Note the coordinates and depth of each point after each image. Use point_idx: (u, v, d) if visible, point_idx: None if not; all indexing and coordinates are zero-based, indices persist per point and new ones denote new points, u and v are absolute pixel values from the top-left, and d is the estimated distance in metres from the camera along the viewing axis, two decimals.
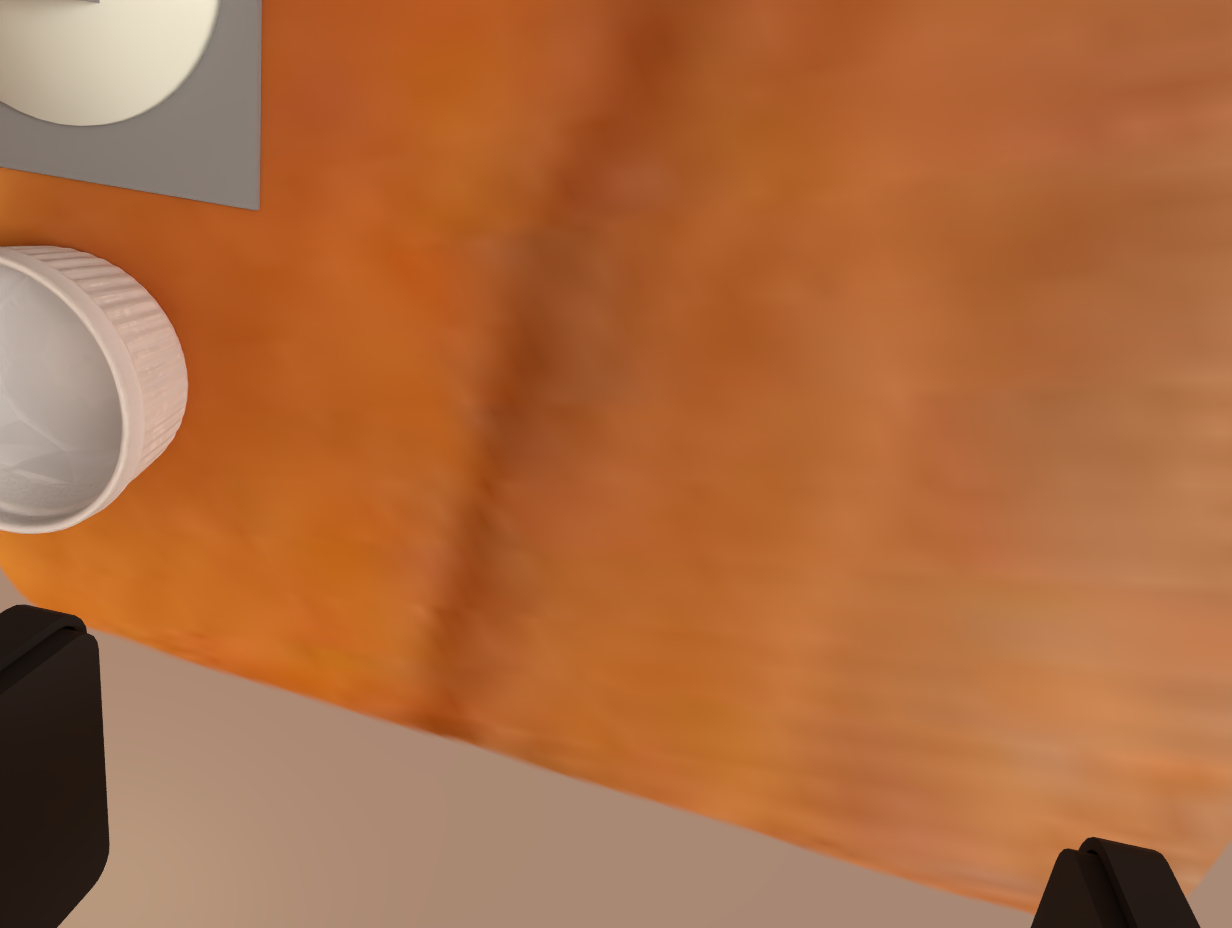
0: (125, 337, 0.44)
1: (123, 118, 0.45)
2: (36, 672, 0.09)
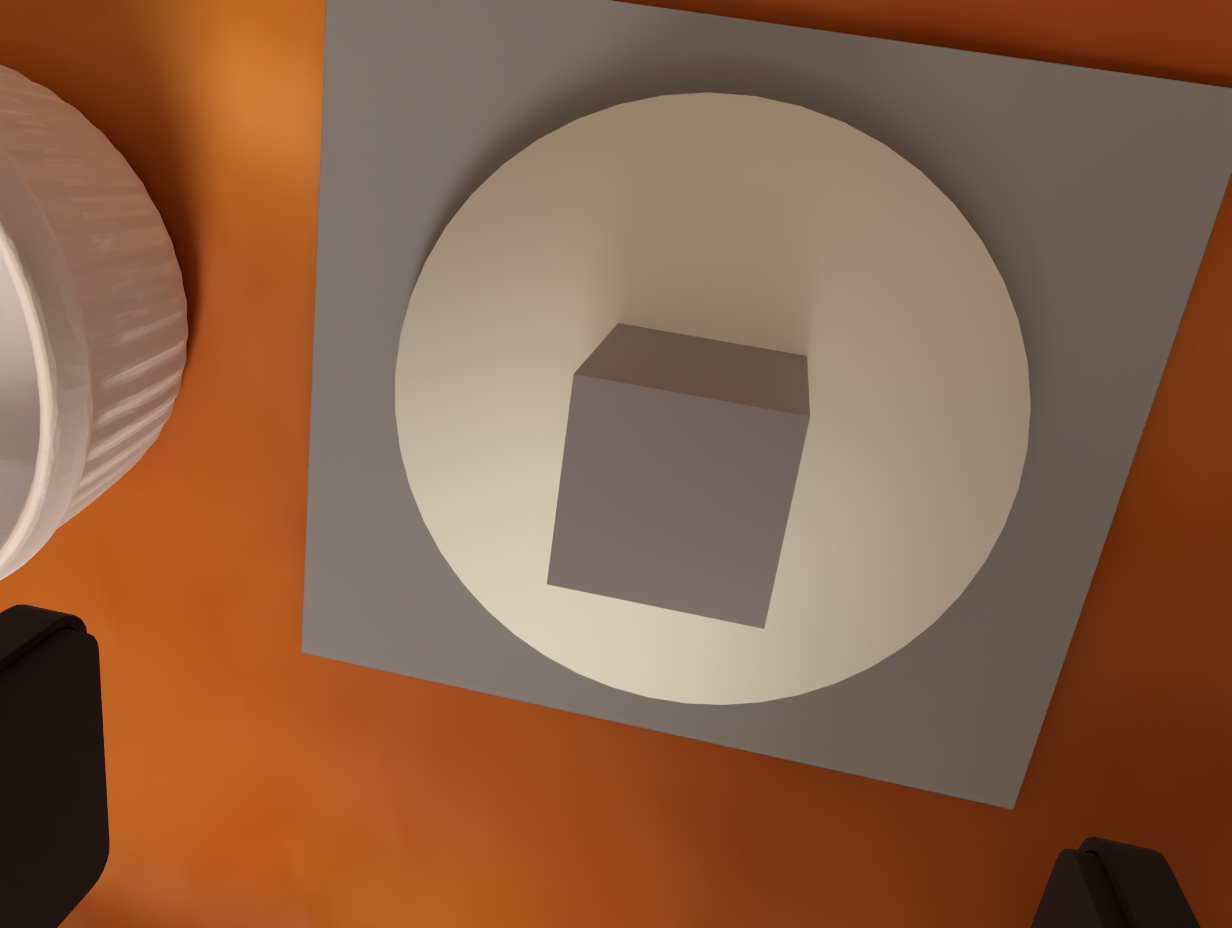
0: None
1: (414, 492, 0.26)
2: (36, 672, 0.09)
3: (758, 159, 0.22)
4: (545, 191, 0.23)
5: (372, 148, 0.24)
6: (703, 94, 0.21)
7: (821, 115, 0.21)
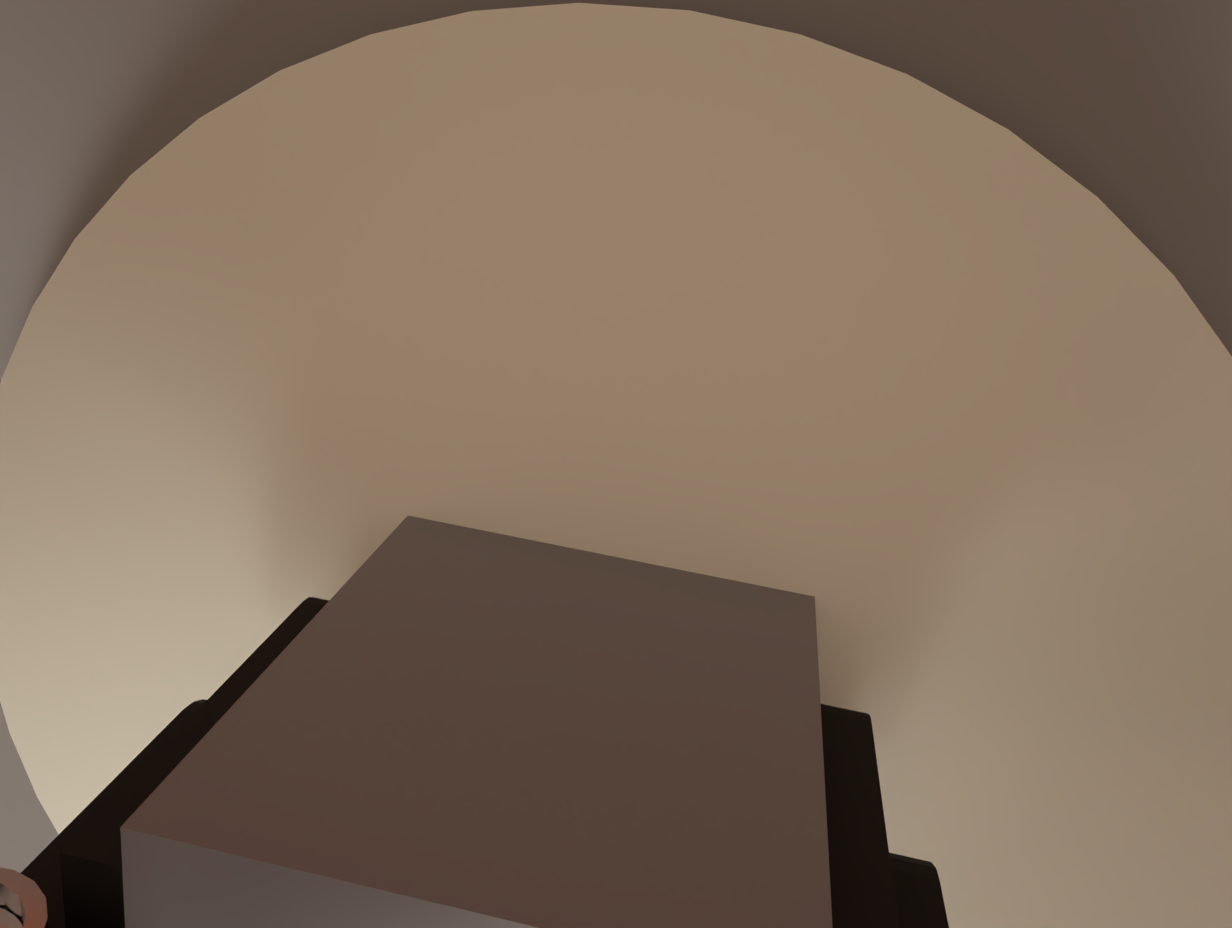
0: None
1: (49, 807, 0.13)
2: None
3: (702, 165, 0.09)
4: (229, 236, 0.10)
5: None
6: (567, 7, 0.09)
7: (853, 58, 0.09)
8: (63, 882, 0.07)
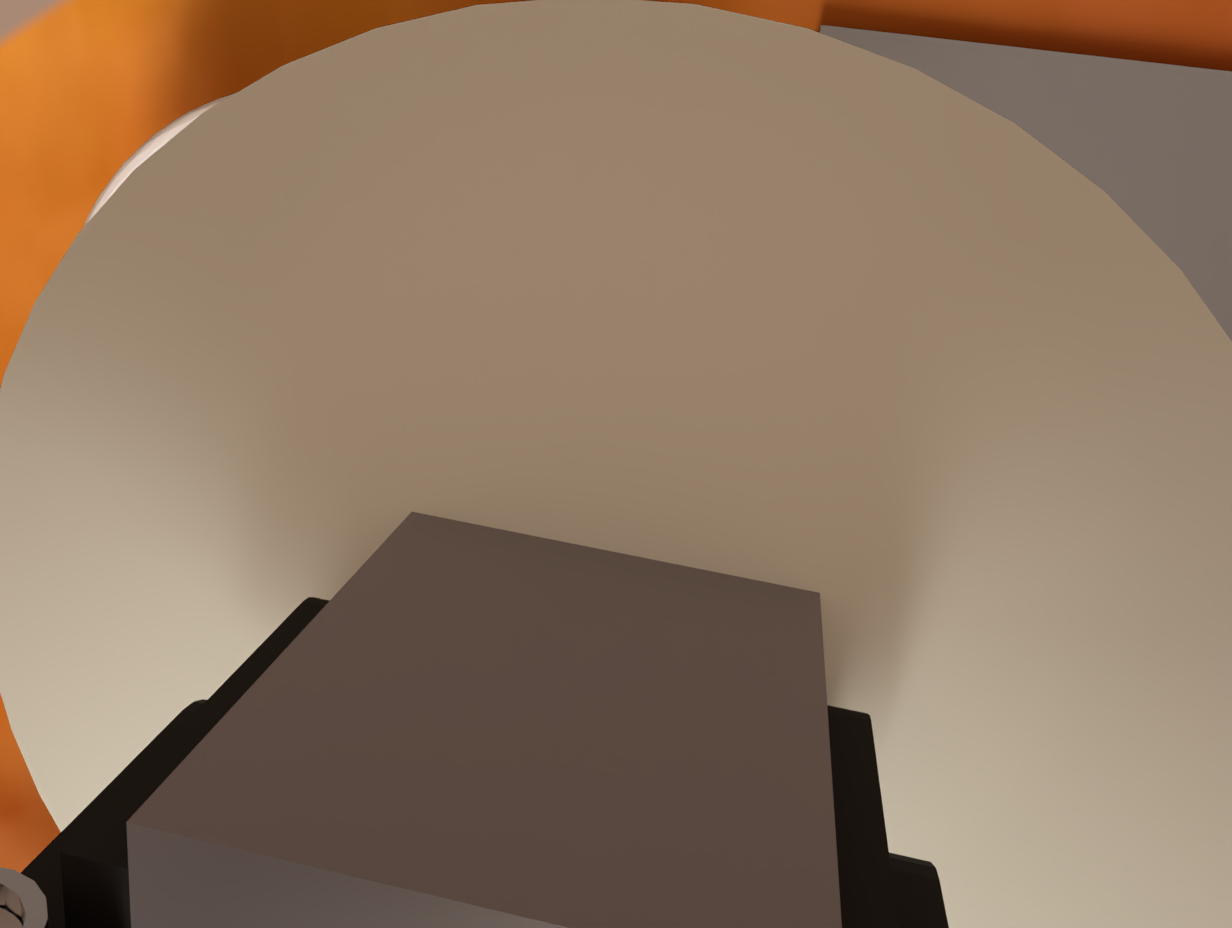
0: None
1: (52, 804, 0.13)
2: None
3: (707, 159, 0.09)
4: (232, 230, 0.10)
5: None
6: (573, 1, 0.09)
7: (860, 51, 0.09)
8: (63, 882, 0.07)
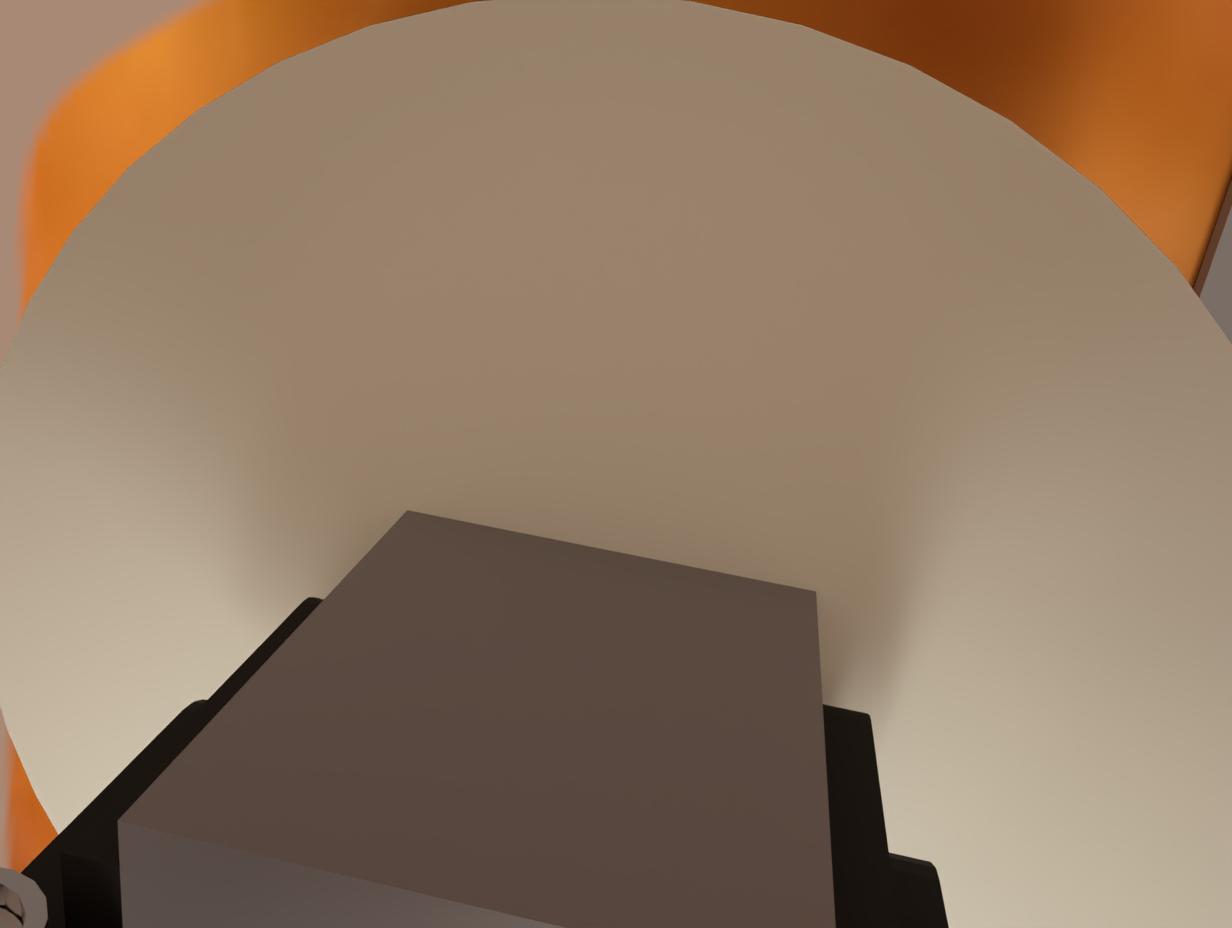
0: None
1: (48, 803, 0.13)
2: None
3: (703, 156, 0.09)
4: (227, 227, 0.10)
5: None
6: None
7: (855, 48, 0.09)
8: (63, 882, 0.07)
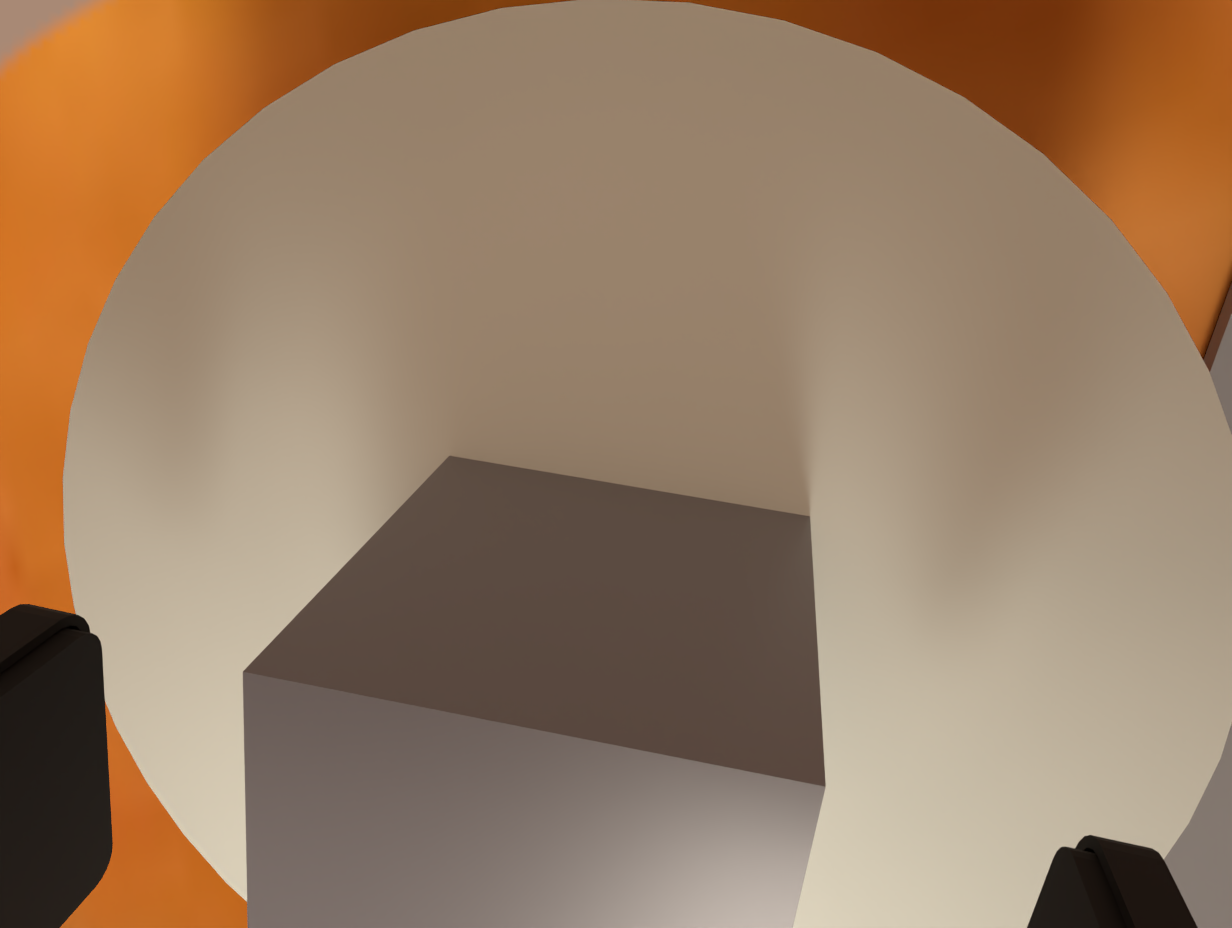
0: None
1: (127, 737, 0.15)
2: (40, 671, 0.09)
3: (702, 136, 0.10)
4: (290, 209, 0.11)
5: None
6: (583, 3, 0.10)
7: (830, 39, 0.10)
8: None
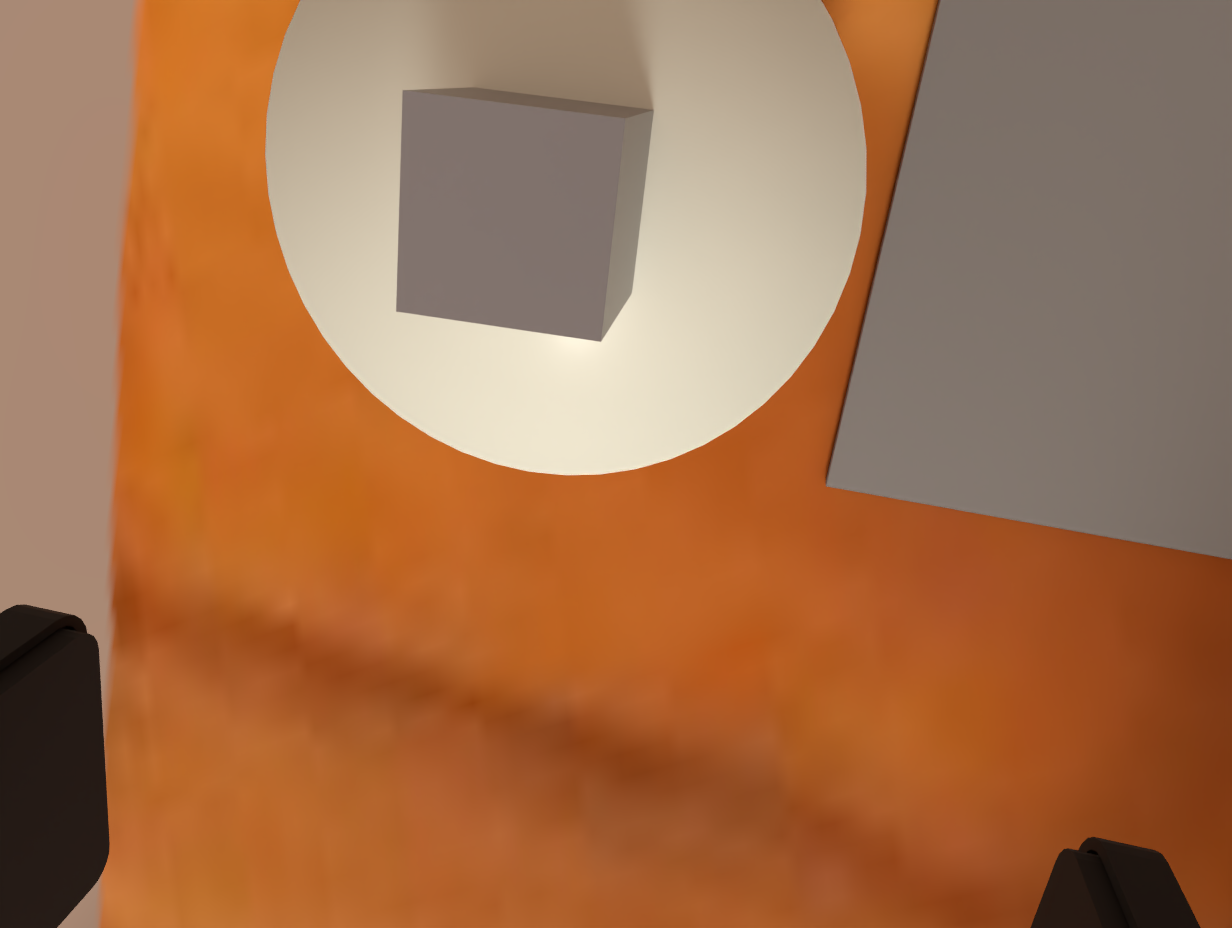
0: None
1: (293, 276, 0.27)
2: (36, 672, 0.09)
3: None
4: None
5: (976, 45, 0.29)
6: None
7: None
8: None
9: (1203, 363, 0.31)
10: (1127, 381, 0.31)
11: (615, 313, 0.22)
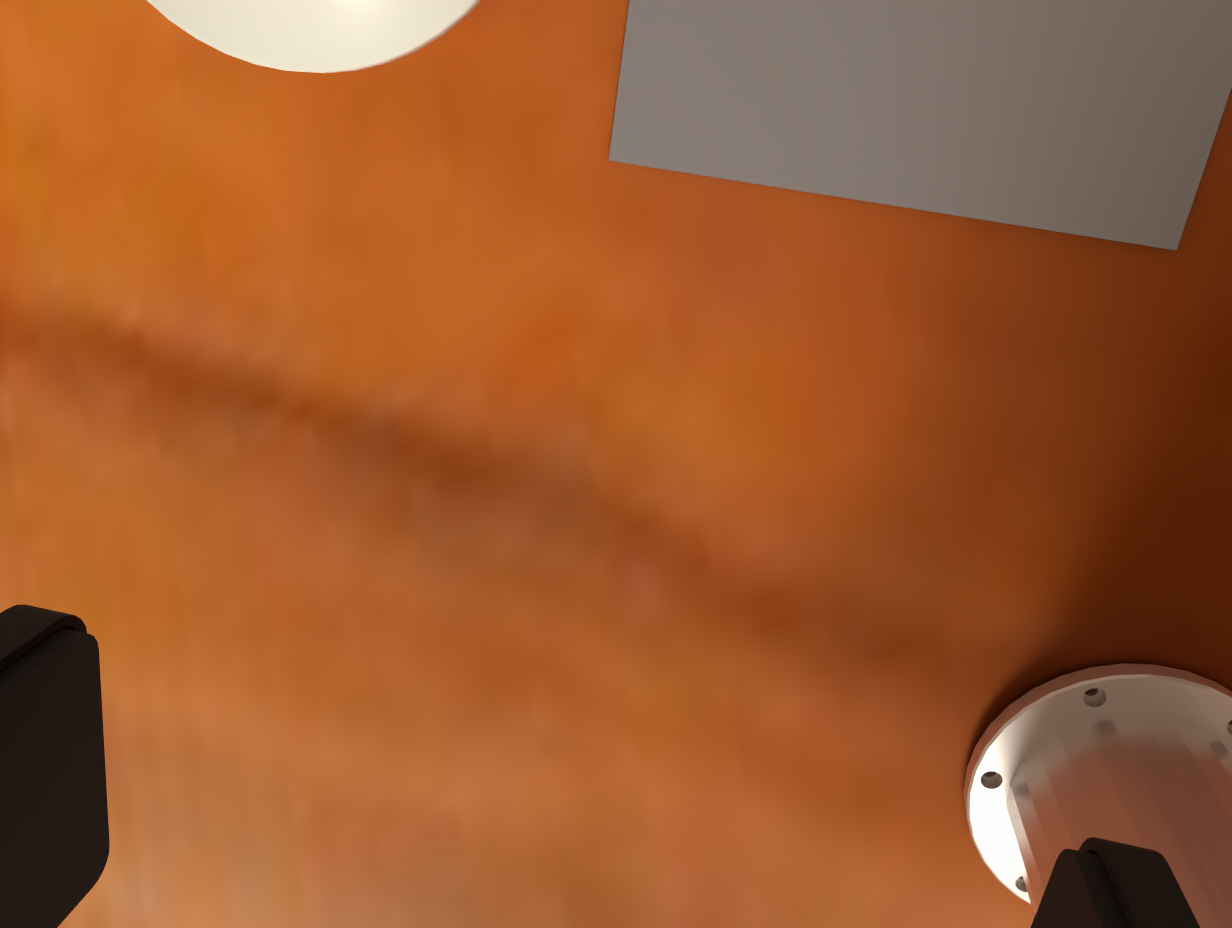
0: None
1: None
2: (36, 672, 0.09)
3: None
4: None
5: None
6: None
7: None
8: None
9: (937, 15, 0.33)
10: (871, 37, 0.34)
11: None
